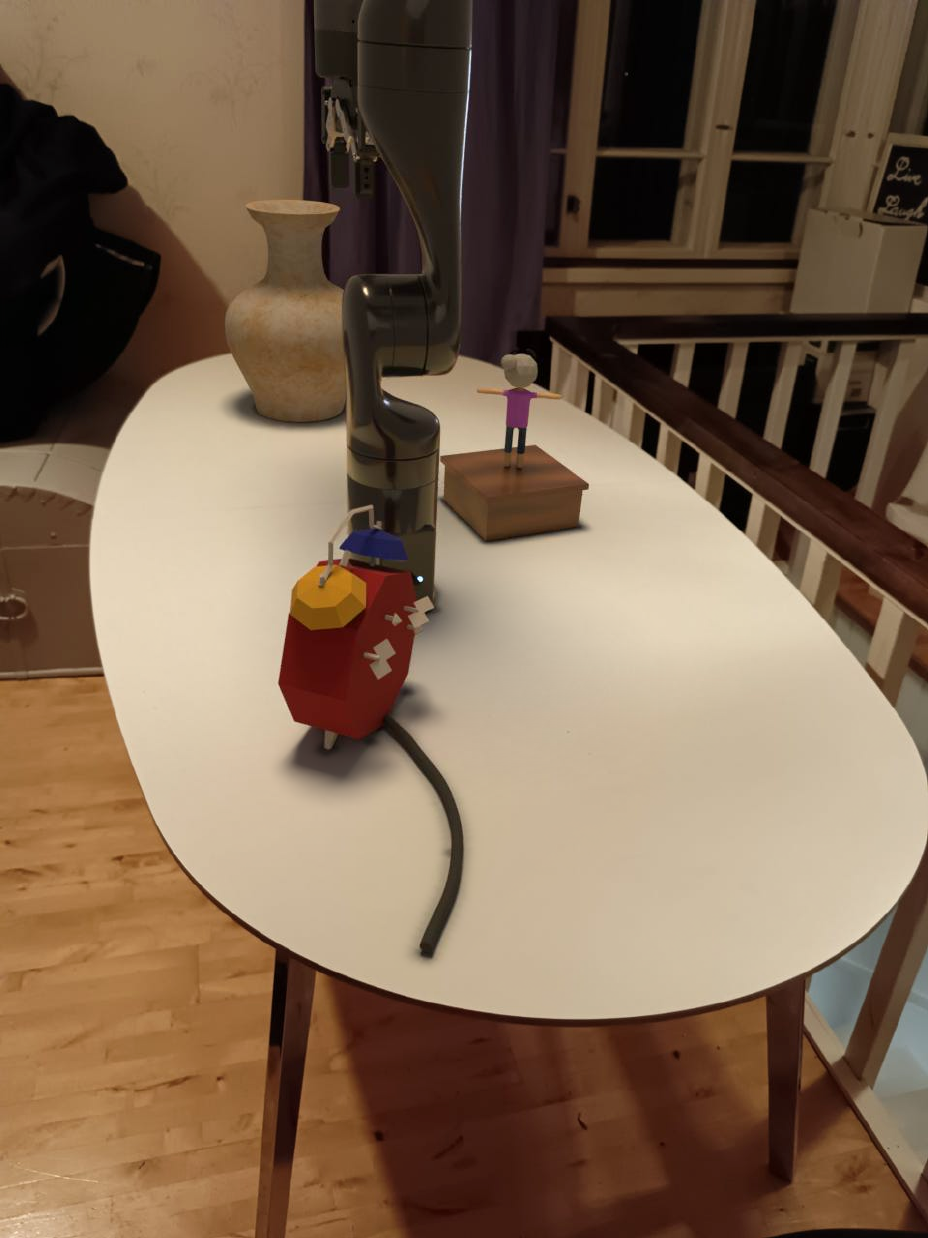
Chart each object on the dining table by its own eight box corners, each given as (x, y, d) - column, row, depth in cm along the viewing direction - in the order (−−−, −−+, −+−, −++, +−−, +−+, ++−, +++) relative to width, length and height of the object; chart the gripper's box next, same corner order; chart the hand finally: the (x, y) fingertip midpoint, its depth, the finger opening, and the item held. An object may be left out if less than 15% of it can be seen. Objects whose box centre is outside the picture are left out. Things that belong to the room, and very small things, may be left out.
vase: (214, 425, 145) (195, 212, 129) (250, 382, 164) (238, 191, 148) (357, 435, 144) (355, 222, 129) (377, 390, 163) (378, 200, 148)
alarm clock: (357, 665, 91) (355, 469, 81) (441, 687, 89) (451, 488, 79) (280, 756, 79) (267, 539, 69) (375, 783, 77) (376, 563, 67)
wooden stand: (583, 527, 120) (589, 483, 117) (483, 543, 115) (487, 497, 112) (531, 485, 131) (535, 444, 128) (438, 498, 126) (439, 455, 123)
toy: (554, 465, 122) (567, 347, 114) (553, 481, 117) (566, 360, 110) (473, 457, 123) (480, 340, 115) (469, 474, 118) (476, 353, 110)
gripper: (297, 24, 106) (302, 184, 114) (337, 26, 95) (339, 202, 103) (361, 28, 109) (361, 184, 117) (407, 30, 98) (404, 202, 106)
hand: (351, 192), depth 110 cm, fingers open, 8 cm apart
